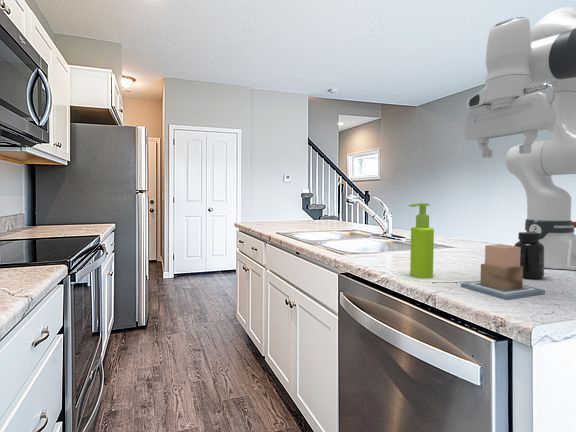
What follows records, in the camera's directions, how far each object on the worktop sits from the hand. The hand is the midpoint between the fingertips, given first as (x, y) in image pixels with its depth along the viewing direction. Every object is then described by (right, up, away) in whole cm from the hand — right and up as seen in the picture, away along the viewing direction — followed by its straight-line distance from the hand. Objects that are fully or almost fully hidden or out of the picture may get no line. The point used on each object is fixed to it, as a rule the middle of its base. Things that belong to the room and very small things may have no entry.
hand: (505, 155), depth 83 cm
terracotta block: (0, -25, +1) cm, 25 cm away
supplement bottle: (+15, -30, +15) cm, 37 cm away
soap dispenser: (-13, -30, +17) cm, 37 cm away
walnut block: (0, -30, +2) cm, 30 cm away
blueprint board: (0, -31, +2) cm, 31 cm away
